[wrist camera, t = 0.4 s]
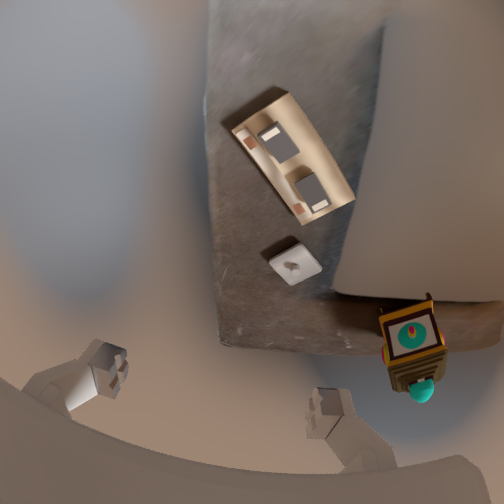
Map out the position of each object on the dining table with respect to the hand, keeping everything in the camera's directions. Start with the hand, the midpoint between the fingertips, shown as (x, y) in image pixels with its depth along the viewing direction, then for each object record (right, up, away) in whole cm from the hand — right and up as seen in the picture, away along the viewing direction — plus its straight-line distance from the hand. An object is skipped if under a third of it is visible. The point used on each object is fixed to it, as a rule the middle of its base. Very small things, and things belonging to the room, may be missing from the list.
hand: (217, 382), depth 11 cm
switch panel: (+10, +24, +44) cm, 52 cm away
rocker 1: (+6, +25, +38) cm, 46 cm away
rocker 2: (+13, +17, +43) cm, 48 cm away
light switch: (+12, +4, +61) cm, 62 cm away
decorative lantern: (+50, -15, +68) cm, 86 cm away
